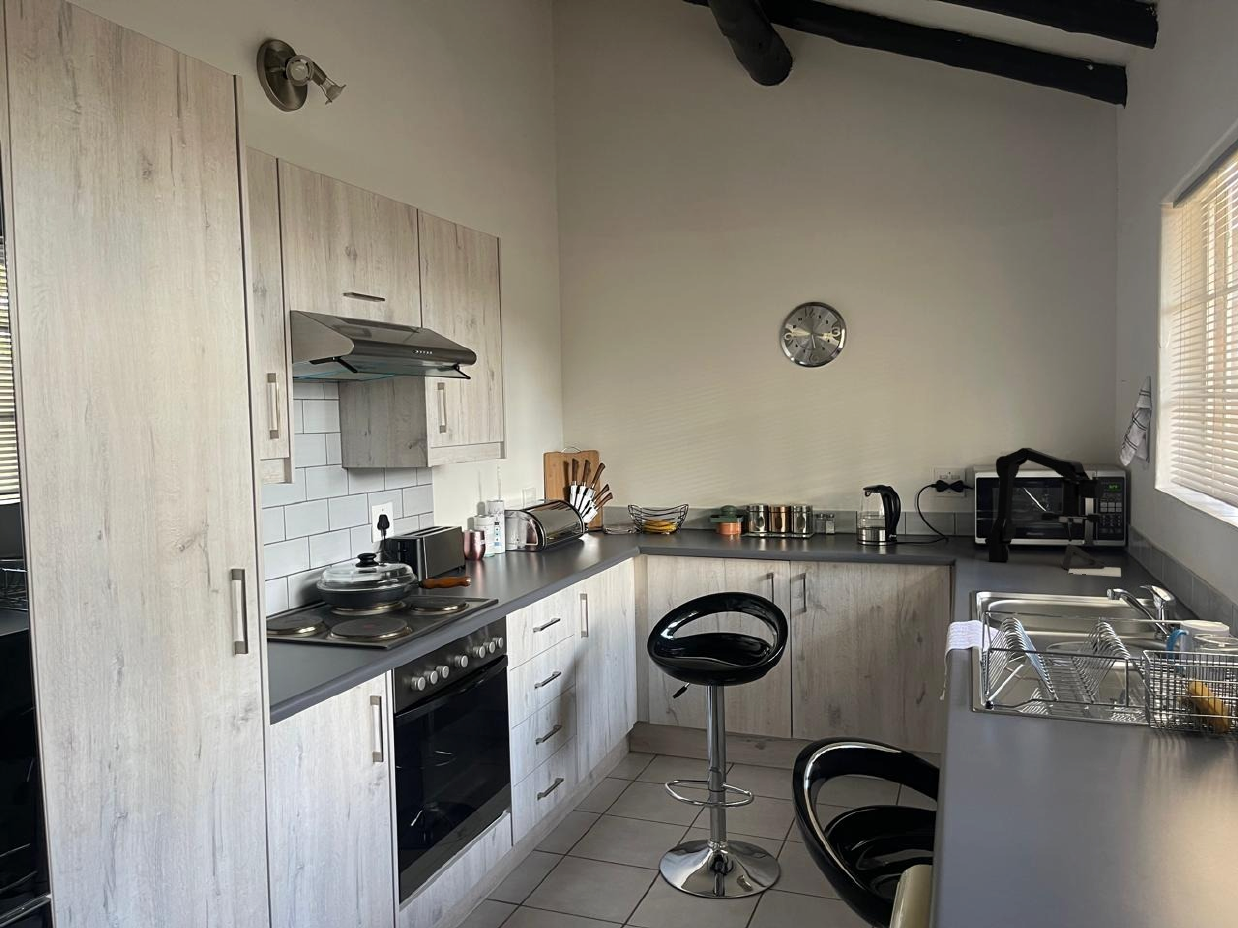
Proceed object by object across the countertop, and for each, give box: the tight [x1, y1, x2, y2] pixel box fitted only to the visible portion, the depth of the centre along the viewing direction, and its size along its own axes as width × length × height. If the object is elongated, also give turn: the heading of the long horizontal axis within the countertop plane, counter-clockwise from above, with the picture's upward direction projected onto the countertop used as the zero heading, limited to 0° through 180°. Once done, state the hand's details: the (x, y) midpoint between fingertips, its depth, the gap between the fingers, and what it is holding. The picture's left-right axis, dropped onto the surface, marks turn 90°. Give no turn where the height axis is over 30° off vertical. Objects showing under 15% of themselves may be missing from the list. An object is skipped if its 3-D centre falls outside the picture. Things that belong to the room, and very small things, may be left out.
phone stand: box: [1061, 543, 1106, 571], centre depth 346 cm, size 9×6×12 cm
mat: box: [1068, 566, 1122, 578], centre depth 340 cm, size 16×18×1 cm
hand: (1070, 541), depth 344 cm, fingers closed
